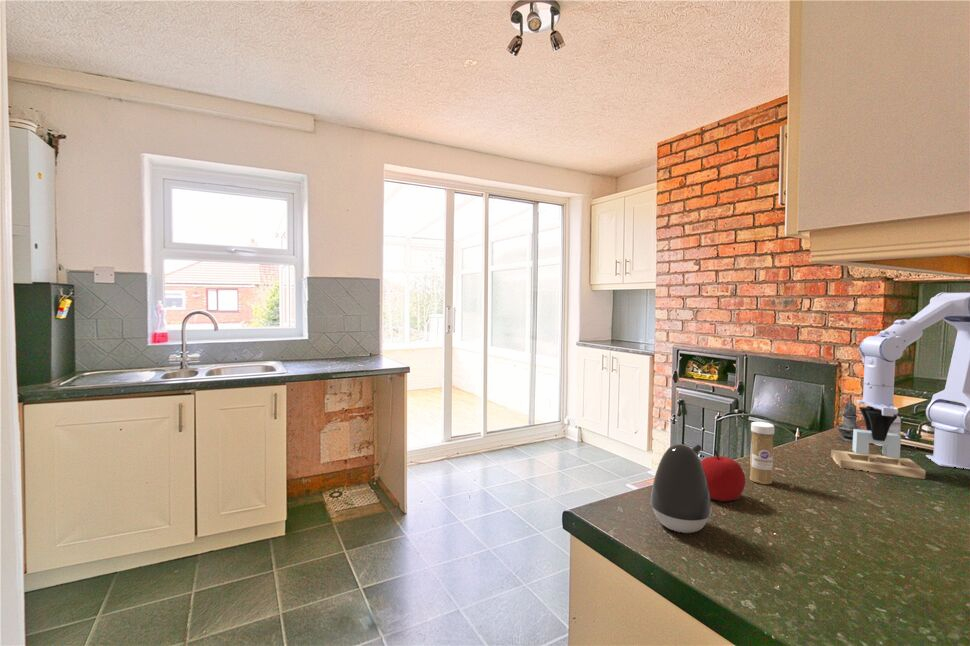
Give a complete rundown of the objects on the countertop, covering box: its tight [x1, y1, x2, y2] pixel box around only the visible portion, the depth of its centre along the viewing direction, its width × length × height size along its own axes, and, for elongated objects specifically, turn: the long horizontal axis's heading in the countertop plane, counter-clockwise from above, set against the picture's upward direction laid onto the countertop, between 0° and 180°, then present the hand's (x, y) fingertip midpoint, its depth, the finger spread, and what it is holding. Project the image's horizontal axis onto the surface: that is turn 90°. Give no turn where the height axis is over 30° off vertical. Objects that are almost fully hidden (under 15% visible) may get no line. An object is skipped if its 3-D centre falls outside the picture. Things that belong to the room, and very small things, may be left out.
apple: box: [700, 450, 746, 502], centre depth 95 cm, size 9×9×10 cm
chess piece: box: [836, 400, 863, 443], centre depth 136 cm, size 6×6×12 cm
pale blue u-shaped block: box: [851, 429, 902, 459], centre depth 113 cm, size 8×3×6 cm, turn 64°
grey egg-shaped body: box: [650, 443, 712, 534], centre depth 83 cm, size 10×10×15 cm
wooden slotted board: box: [830, 449, 926, 480], centre depth 113 cm, size 16×9×2 cm, turn 64°
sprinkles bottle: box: [749, 421, 775, 485], centre depth 104 cm, size 5×5×14 cm
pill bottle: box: [874, 406, 902, 448], centre depth 131 cm, size 6×6×11 cm
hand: (876, 438), depth 113 cm, fingers closed on pale blue u-shaped block, 3 cm apart
